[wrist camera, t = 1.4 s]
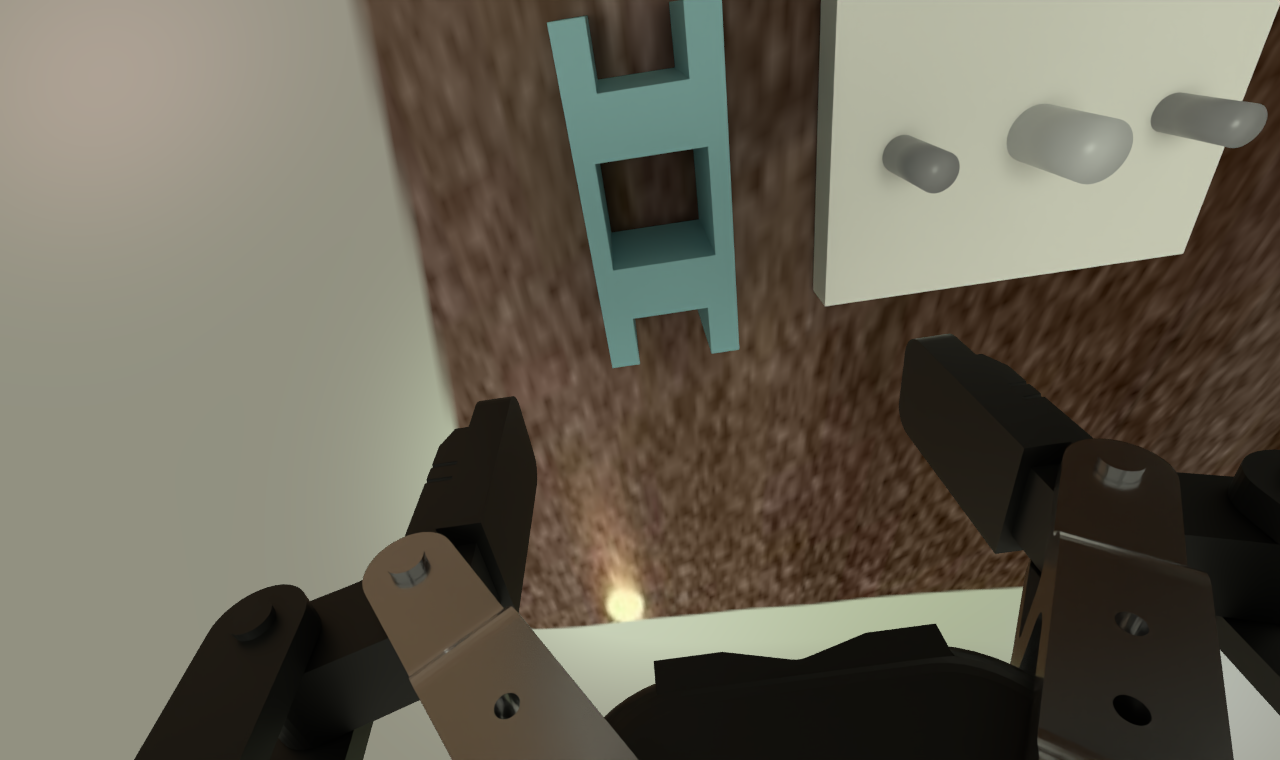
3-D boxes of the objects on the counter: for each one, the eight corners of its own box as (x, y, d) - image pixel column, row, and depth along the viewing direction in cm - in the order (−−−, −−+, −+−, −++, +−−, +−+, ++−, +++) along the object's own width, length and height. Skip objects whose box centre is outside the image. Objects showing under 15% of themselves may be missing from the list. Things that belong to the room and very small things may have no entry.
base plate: (821, -23, 24) (881, -32, 19) (1269, -96, 23) (1454, -125, 18) (812, 290, 31) (853, 344, 26) (1151, 240, 31) (1258, 285, 26)
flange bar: (556, 20, 24) (546, 22, 20) (700, -3, 24) (721, -6, 20) (611, 320, 32) (612, 368, 27) (720, 304, 31) (739, 349, 27)
